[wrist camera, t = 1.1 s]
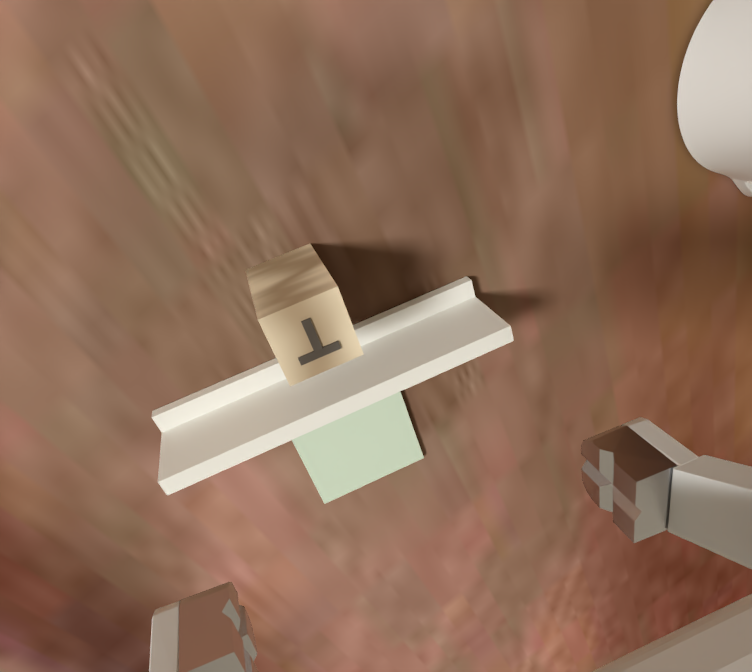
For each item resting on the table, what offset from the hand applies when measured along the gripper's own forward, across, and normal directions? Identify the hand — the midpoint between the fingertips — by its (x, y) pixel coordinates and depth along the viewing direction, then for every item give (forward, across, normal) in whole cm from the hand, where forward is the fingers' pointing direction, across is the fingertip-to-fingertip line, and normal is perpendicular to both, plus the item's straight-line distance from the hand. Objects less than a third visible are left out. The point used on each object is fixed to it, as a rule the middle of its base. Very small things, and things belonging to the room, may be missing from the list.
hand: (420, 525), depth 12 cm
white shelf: (+26, -1, +11) cm, 29 cm away
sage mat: (+27, -2, +18) cm, 32 cm away
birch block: (+26, -1, +4) cm, 27 cm away
